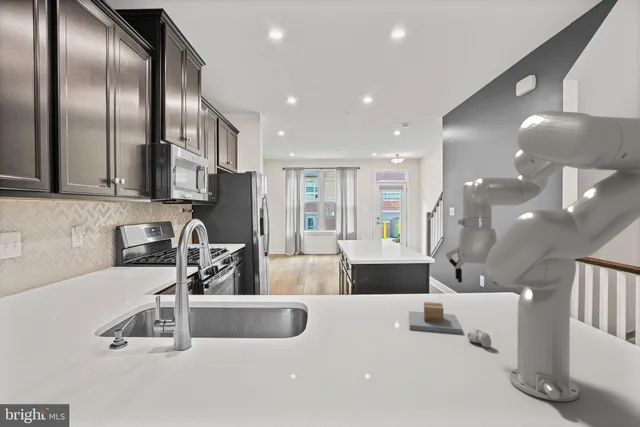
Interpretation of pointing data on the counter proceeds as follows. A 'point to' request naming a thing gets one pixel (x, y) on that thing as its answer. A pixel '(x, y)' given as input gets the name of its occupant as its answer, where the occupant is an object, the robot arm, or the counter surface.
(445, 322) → the base board
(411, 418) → the counter surface
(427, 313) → the walnut brick
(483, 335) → the smooth white sculpture
